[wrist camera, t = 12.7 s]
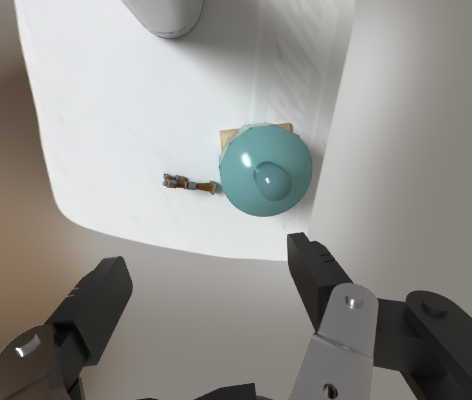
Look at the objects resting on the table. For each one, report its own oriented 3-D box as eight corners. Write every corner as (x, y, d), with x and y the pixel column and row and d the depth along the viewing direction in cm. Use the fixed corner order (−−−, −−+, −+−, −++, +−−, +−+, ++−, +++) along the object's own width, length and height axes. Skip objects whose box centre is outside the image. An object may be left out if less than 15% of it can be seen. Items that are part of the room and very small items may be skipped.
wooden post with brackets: (159, 169, 35) (164, 179, 31) (206, 175, 39) (217, 184, 35) (157, 180, 35) (162, 191, 32) (204, 185, 39) (214, 195, 36)
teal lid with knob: (215, 128, 33) (212, 135, 21) (293, 119, 33) (333, 121, 22) (225, 201, 37) (226, 241, 26) (294, 193, 38) (327, 228, 26)
